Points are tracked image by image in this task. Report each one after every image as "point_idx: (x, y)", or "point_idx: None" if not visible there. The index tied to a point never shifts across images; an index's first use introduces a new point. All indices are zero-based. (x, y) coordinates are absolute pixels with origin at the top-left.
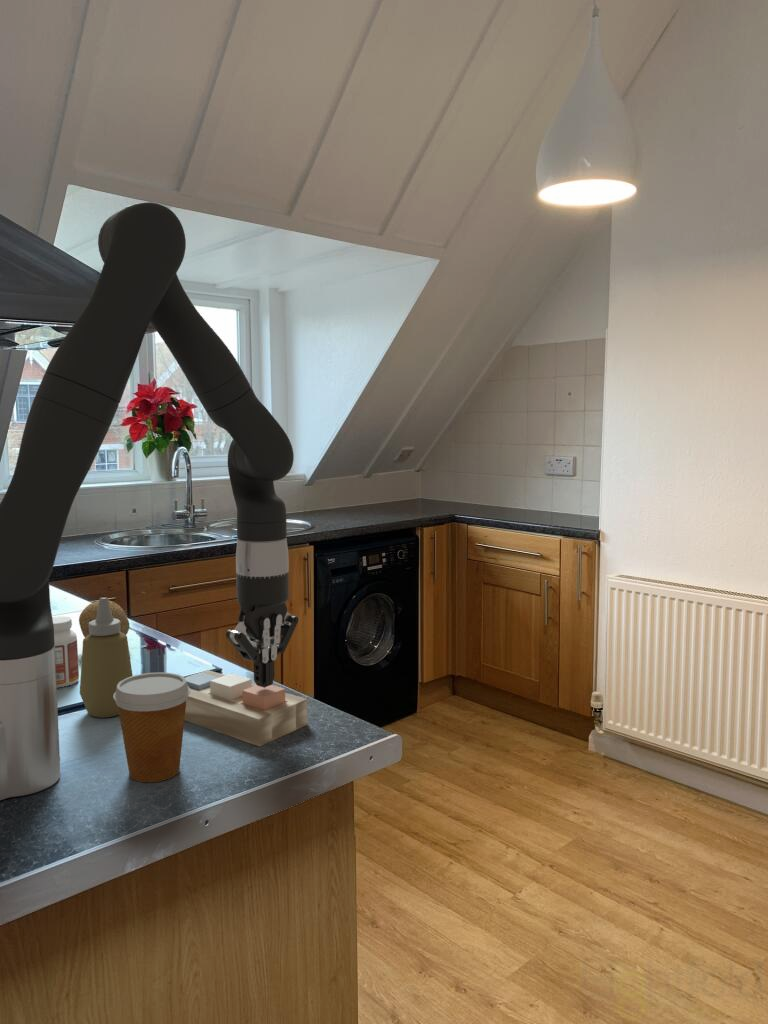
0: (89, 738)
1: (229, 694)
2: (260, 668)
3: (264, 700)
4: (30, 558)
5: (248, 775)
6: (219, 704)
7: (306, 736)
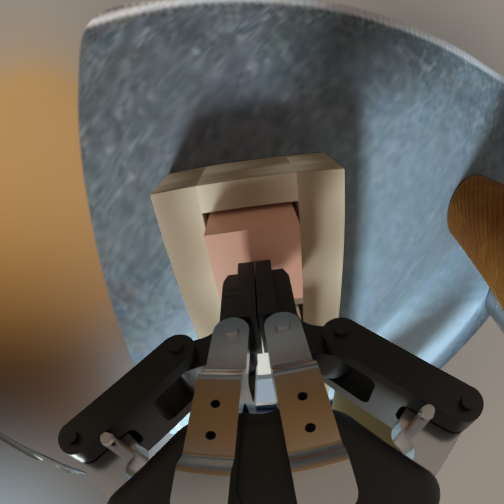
0: (423, 338)
1: (300, 317)
2: (295, 306)
3: (295, 218)
4: None
5: (416, 77)
6: (333, 299)
7: (210, 122)
